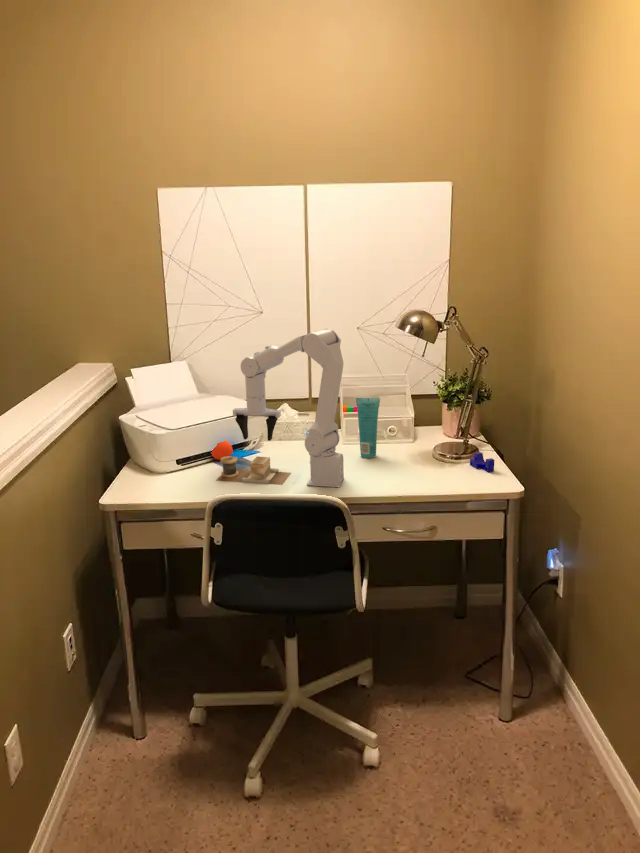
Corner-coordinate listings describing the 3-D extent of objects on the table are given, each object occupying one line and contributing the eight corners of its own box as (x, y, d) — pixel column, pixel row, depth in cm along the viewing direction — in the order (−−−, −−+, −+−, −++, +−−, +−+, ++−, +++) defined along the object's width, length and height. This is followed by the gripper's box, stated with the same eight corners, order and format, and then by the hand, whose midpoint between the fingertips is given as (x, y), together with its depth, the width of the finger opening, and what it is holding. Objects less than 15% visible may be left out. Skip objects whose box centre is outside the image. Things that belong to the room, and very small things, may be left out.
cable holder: (469, 465, 225) (470, 453, 224) (479, 464, 226) (480, 451, 225) (483, 474, 218) (484, 461, 217) (493, 472, 219) (494, 459, 218)
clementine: (214, 467, 228) (213, 445, 226) (204, 461, 233) (203, 440, 231) (237, 461, 232) (236, 440, 230) (226, 456, 238) (225, 435, 236)
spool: (240, 472, 218) (239, 456, 217) (235, 478, 214) (234, 462, 212) (224, 471, 220) (223, 455, 218) (218, 477, 215) (217, 461, 213)
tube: (379, 453, 237) (379, 395, 232) (380, 458, 233) (380, 399, 227) (356, 454, 237) (355, 396, 232) (356, 458, 232) (356, 400, 227)
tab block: (270, 473, 217) (270, 457, 216) (264, 480, 211) (263, 464, 210) (257, 472, 218) (256, 456, 217) (250, 479, 212) (249, 463, 211)
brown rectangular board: (291, 477, 218) (291, 469, 217) (282, 489, 208) (282, 481, 208) (228, 473, 222) (227, 465, 222) (216, 485, 213) (215, 477, 212)
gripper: (282, 393, 222) (284, 436, 226) (237, 391, 225) (239, 434, 229) (276, 399, 215) (278, 443, 219) (229, 397, 218) (231, 440, 222)
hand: (257, 439), depth 223 cm, fingers open, 7 cm apart
